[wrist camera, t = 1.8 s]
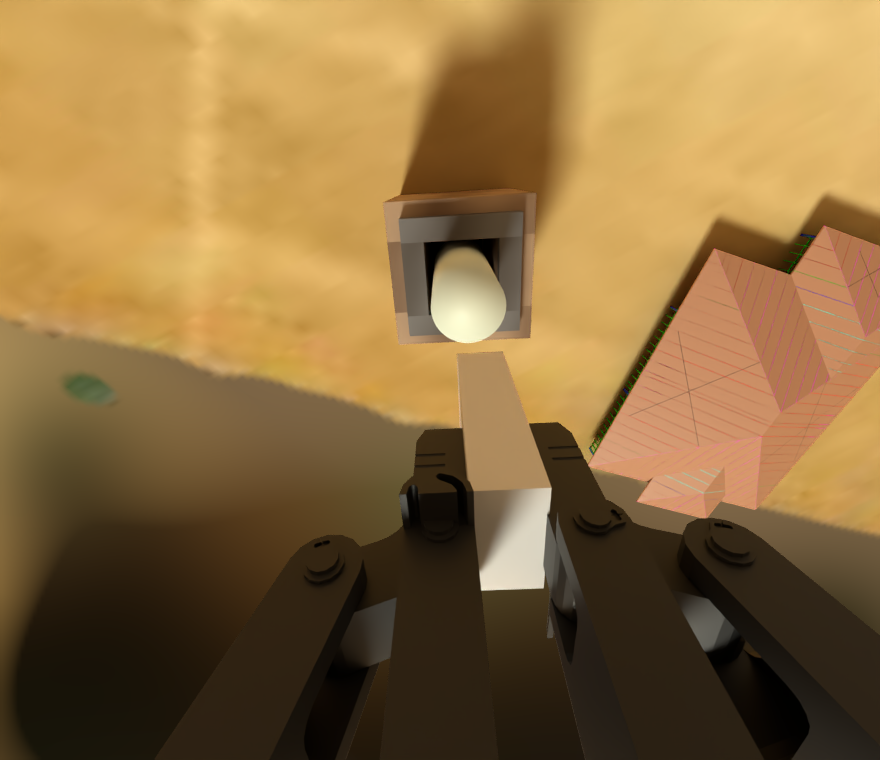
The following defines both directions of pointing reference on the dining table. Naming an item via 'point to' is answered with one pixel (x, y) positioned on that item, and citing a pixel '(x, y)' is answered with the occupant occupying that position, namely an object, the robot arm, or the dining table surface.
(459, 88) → the dining table surface
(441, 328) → the peg
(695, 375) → the house
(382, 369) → the dining table surface
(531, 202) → the socket block
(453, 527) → the robot arm
